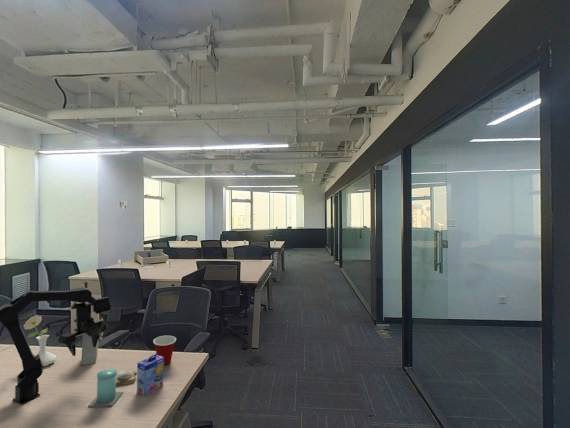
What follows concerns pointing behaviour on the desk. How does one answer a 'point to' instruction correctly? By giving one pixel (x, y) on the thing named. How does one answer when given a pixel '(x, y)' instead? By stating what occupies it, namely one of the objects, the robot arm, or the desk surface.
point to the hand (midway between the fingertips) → (84, 351)
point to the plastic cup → (165, 347)
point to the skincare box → (88, 351)
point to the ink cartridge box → (150, 374)
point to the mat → (106, 404)
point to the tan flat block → (125, 377)
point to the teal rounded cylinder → (106, 385)
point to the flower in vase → (40, 340)
